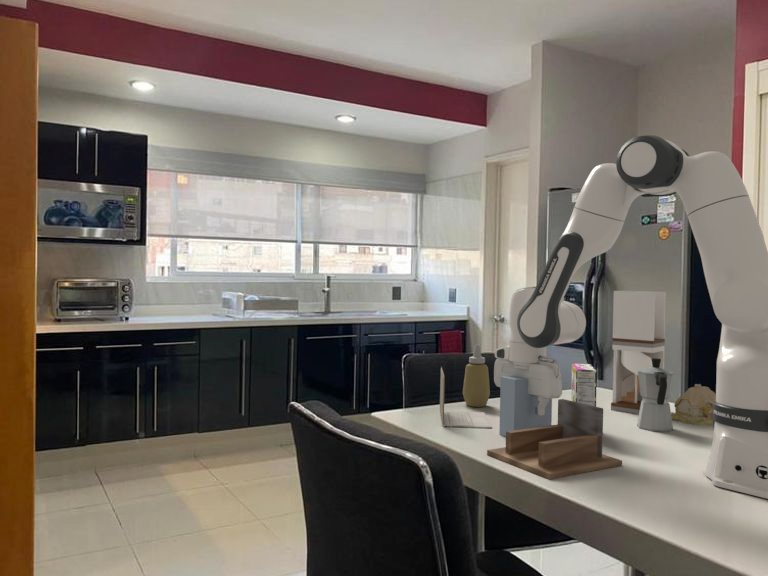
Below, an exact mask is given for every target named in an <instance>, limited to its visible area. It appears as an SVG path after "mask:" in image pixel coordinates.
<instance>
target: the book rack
mask: <svg viewBox="0 0 768 576" xmlns="http://www.w3.org/2000/svg"><path fill="white" fill-rule="evenodd" d="M603 434H604V408H603V407H599V406H596V407H595V406H591V405H586V404H582V403H578V402H574V401H571V400H569V399H565V398H560V399H559V398H558V401H557V424H551V426H543V427H535V428H528V429H520V430H513V431H506V437H505V447H504V446H503V447H498V448H492V449H491V448H490V449H486V456H489V457H492V458H494V459H496V460H499V461H502V462H505V463H508V464H509V465H512V466H515V467H517V468H519V469H522V470H525V471H527V472H530V473H532V474H535V475H537V476H540V477H542V478H544V479H548V480H553V479H558V478H564V477H569V476H572V475H573V476H574V475H578V474H584V473H589V472H590V473H591V472H593V471H600V470H604V469H611V468H615V466H616V467H620V465H621V466H623V460H622V459H619V458H616V457H613V456H610V455H607V454H604V453H603V440H604V439H603V438H604V437H603V436H604V435H603ZM610 467H611V468H610Z"/></svg>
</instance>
